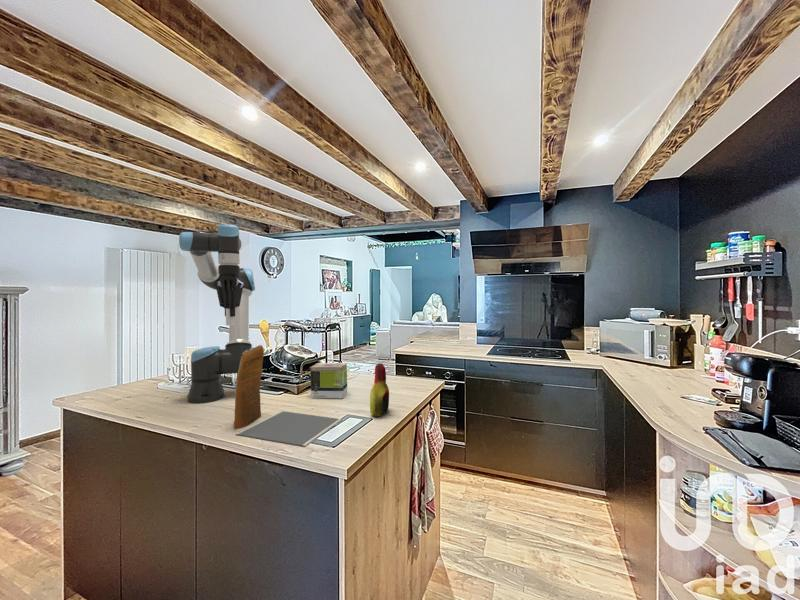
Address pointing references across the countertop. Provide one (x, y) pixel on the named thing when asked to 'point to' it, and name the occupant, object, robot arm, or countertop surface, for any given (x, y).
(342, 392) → the tea box
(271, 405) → the countertop surface
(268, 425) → the mat
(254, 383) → the pancake mix bag
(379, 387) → the bottle
